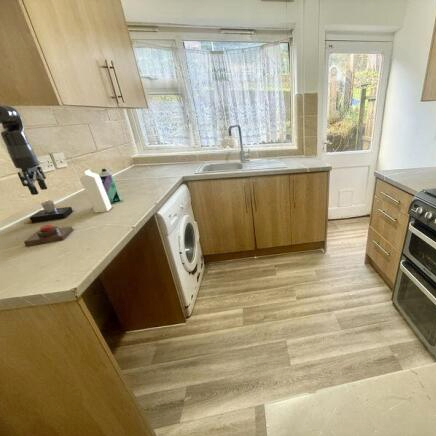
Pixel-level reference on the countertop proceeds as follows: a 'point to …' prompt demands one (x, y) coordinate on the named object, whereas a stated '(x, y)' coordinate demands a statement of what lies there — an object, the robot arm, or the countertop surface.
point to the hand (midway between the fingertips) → (40, 191)
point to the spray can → (110, 186)
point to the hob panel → (51, 215)
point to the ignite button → (46, 228)
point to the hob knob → (49, 207)
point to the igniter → (48, 236)
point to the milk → (95, 192)
